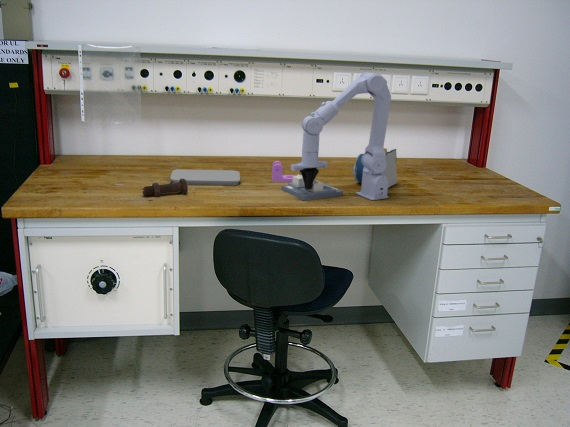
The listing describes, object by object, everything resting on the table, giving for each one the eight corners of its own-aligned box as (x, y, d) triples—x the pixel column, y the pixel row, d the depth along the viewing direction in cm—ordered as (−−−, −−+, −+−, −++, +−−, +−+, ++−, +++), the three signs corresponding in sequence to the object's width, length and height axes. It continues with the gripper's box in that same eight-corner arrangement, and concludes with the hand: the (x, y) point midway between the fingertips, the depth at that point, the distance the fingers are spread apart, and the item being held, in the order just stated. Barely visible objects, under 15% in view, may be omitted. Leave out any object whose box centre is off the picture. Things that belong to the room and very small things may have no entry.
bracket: (272, 181, 221) (273, 164, 218) (271, 178, 226) (272, 160, 224) (305, 182, 221) (306, 165, 219) (304, 179, 227) (305, 162, 224)
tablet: (240, 187, 212) (240, 181, 211) (169, 185, 209) (169, 179, 208) (238, 176, 227) (239, 170, 227) (173, 174, 224) (172, 169, 223)
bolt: (143, 201, 195) (185, 196, 201) (145, 197, 190) (188, 192, 197) (140, 185, 196) (182, 180, 202) (142, 181, 191) (185, 176, 198)
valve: (398, 183, 225) (397, 145, 221) (381, 191, 213) (380, 151, 209) (367, 182, 232) (366, 145, 229) (350, 189, 220) (349, 150, 217)
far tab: (307, 186, 209) (307, 176, 208) (298, 187, 207) (298, 177, 206) (301, 183, 212) (301, 173, 211) (292, 184, 210) (292, 174, 209)
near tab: (322, 191, 203) (323, 181, 202) (313, 192, 201) (314, 182, 200) (316, 188, 206) (317, 178, 205) (307, 189, 204) (308, 179, 203)
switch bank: (342, 195, 207) (343, 188, 206) (304, 200, 198) (304, 194, 197) (318, 184, 219) (318, 178, 218) (281, 189, 210) (281, 183, 209)
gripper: (320, 147, 204) (317, 183, 209) (286, 150, 197) (284, 187, 201) (332, 151, 199) (329, 188, 203) (298, 154, 191) (295, 193, 195)
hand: (308, 188), depth 202 cm, fingers closed
